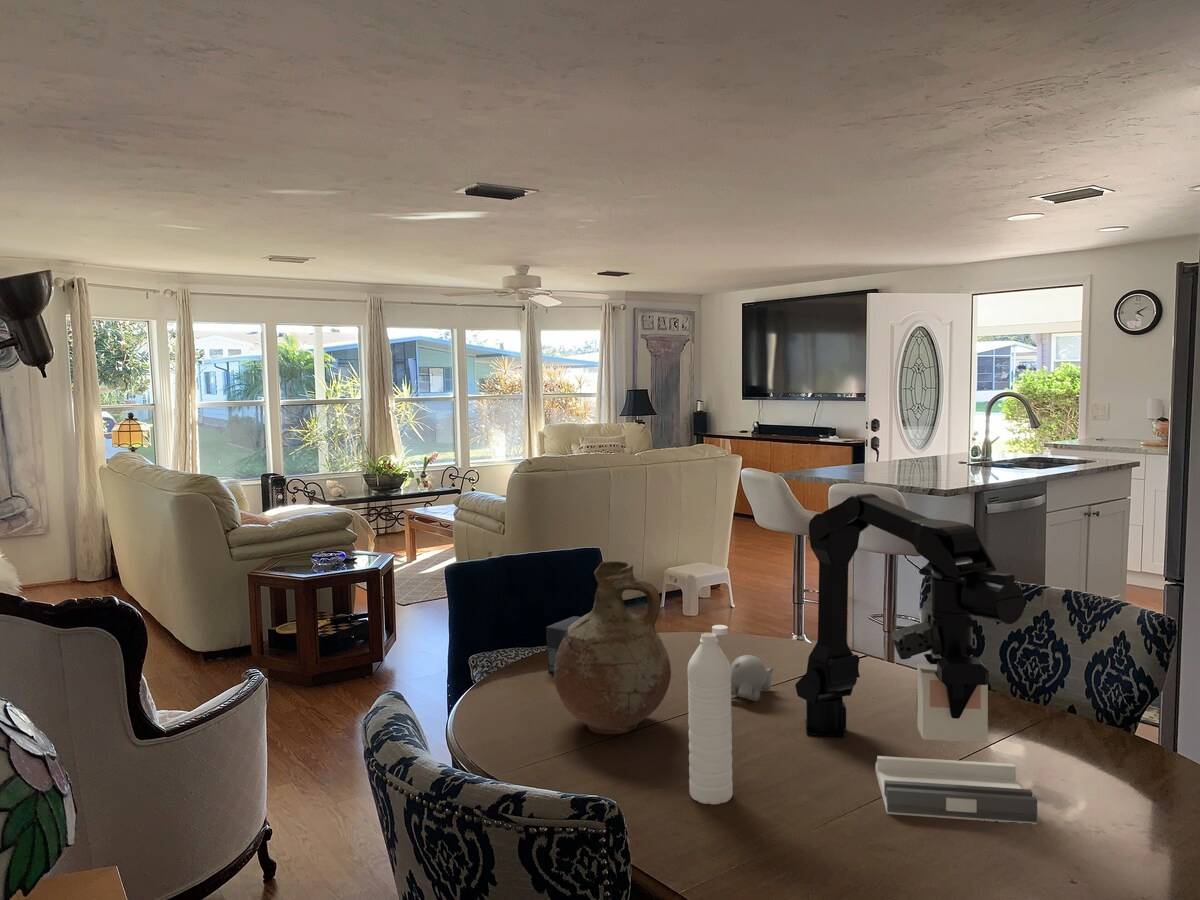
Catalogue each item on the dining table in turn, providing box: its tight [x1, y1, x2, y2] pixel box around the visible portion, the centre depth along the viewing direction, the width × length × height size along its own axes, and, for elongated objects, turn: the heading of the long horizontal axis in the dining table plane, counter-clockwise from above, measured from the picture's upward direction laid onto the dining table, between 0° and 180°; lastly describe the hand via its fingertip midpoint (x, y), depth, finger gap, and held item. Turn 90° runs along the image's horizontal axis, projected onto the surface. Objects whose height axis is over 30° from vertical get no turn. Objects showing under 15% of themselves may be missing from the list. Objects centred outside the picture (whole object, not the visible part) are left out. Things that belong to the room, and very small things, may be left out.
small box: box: [545, 615, 582, 674], centre depth 192 cm, size 11×6×10 cm, turn 145°
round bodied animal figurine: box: [730, 654, 774, 702], centre depth 172 cm, size 7×12×8 cm, turn 130°
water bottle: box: [687, 624, 734, 805], centre depth 131 cm, size 9×6×25 cm
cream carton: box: [916, 663, 989, 743], centre depth 128 cm, size 5×9×10 cm, turn 79°
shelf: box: [875, 755, 1038, 825], centre depth 129 cm, size 20×14×4 cm
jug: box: [553, 560, 672, 735], centre depth 158 cm, size 22×22×30 cm
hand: (951, 711), depth 128 cm, fingers closed on cream carton, 5 cm apart
